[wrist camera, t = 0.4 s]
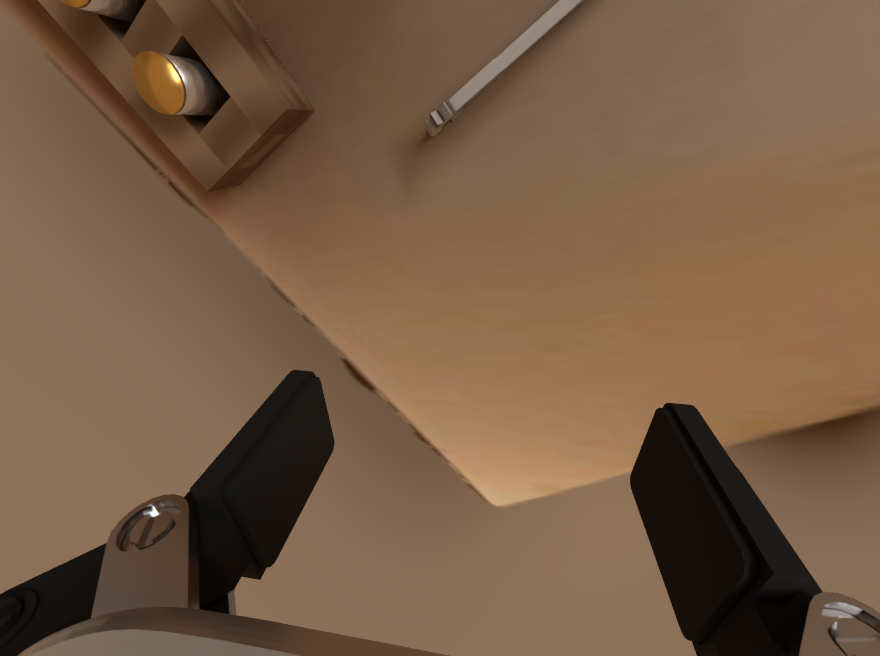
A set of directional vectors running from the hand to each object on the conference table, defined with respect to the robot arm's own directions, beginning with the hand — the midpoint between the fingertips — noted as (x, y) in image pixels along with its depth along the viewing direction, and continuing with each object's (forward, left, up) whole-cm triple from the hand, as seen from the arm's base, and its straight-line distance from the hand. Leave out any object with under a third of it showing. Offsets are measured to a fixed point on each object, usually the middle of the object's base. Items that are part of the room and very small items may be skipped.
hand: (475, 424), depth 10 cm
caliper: (-13, +3, -30) cm, 33 cm away
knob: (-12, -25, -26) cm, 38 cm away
